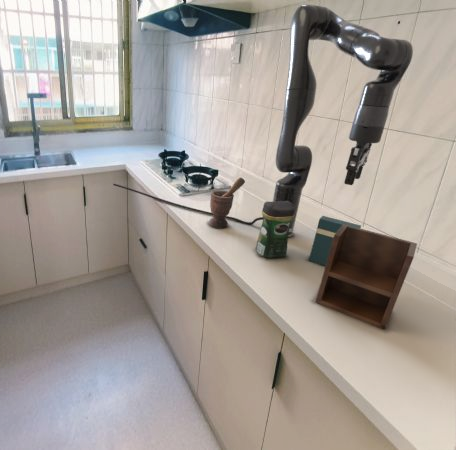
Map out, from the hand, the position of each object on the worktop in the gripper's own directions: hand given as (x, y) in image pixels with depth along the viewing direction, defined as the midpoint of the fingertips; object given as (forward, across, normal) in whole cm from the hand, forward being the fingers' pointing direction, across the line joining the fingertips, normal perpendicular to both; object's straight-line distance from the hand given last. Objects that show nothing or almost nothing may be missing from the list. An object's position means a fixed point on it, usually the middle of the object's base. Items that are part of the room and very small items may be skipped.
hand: (351, 181), depth 97 cm
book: (+28, 0, 0) cm, 28 cm away
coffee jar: (+28, +6, -17) cm, 33 cm away
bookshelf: (+28, +19, +11) cm, 36 cm away
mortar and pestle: (+28, -4, -41) cm, 50 cm away
